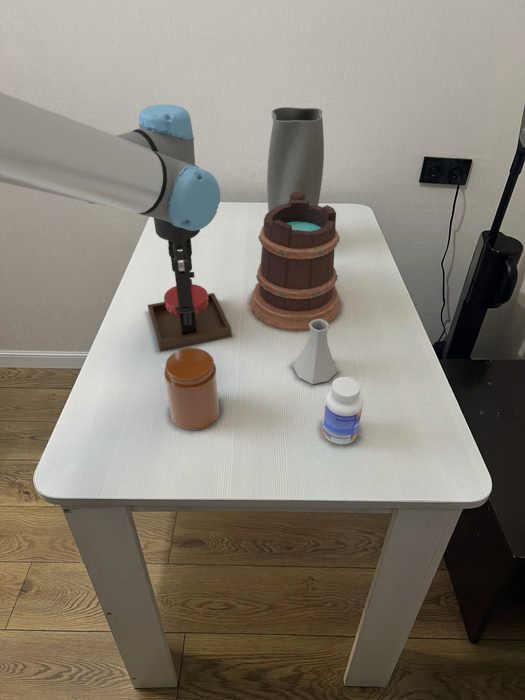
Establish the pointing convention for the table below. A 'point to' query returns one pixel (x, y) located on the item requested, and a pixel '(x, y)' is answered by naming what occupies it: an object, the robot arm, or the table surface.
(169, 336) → the tray
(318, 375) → the flask
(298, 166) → the vase
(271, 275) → the mug
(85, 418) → the table surface
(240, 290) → the table surface
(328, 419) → the pill bottle
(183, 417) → the jar
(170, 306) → the lid
